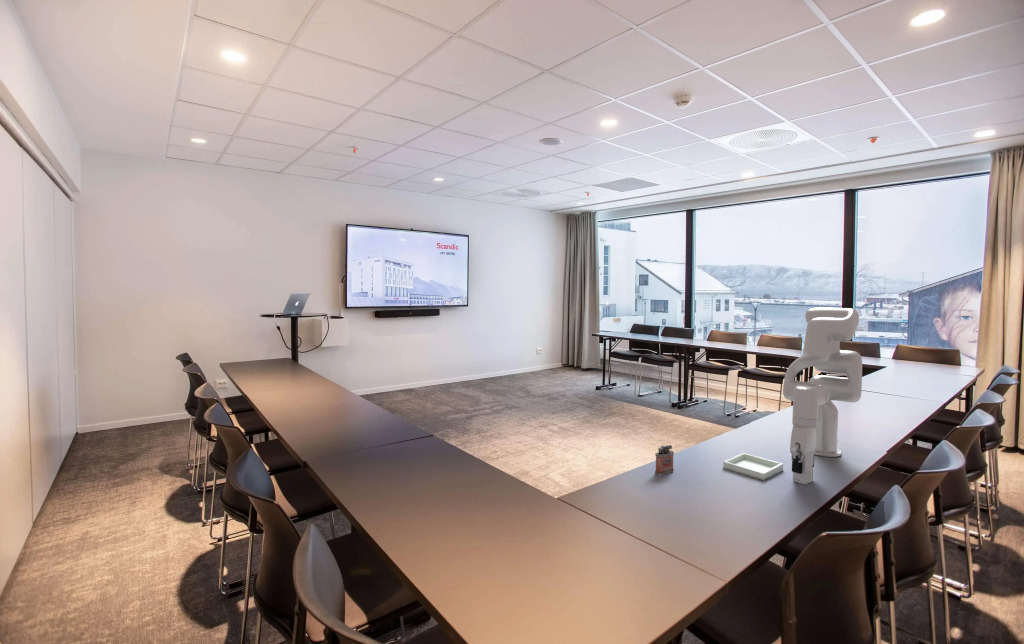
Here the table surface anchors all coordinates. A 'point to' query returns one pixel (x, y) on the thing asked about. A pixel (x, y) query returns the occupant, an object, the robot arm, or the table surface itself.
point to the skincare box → (805, 470)
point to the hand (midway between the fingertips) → (803, 469)
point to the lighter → (664, 460)
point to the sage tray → (753, 466)
